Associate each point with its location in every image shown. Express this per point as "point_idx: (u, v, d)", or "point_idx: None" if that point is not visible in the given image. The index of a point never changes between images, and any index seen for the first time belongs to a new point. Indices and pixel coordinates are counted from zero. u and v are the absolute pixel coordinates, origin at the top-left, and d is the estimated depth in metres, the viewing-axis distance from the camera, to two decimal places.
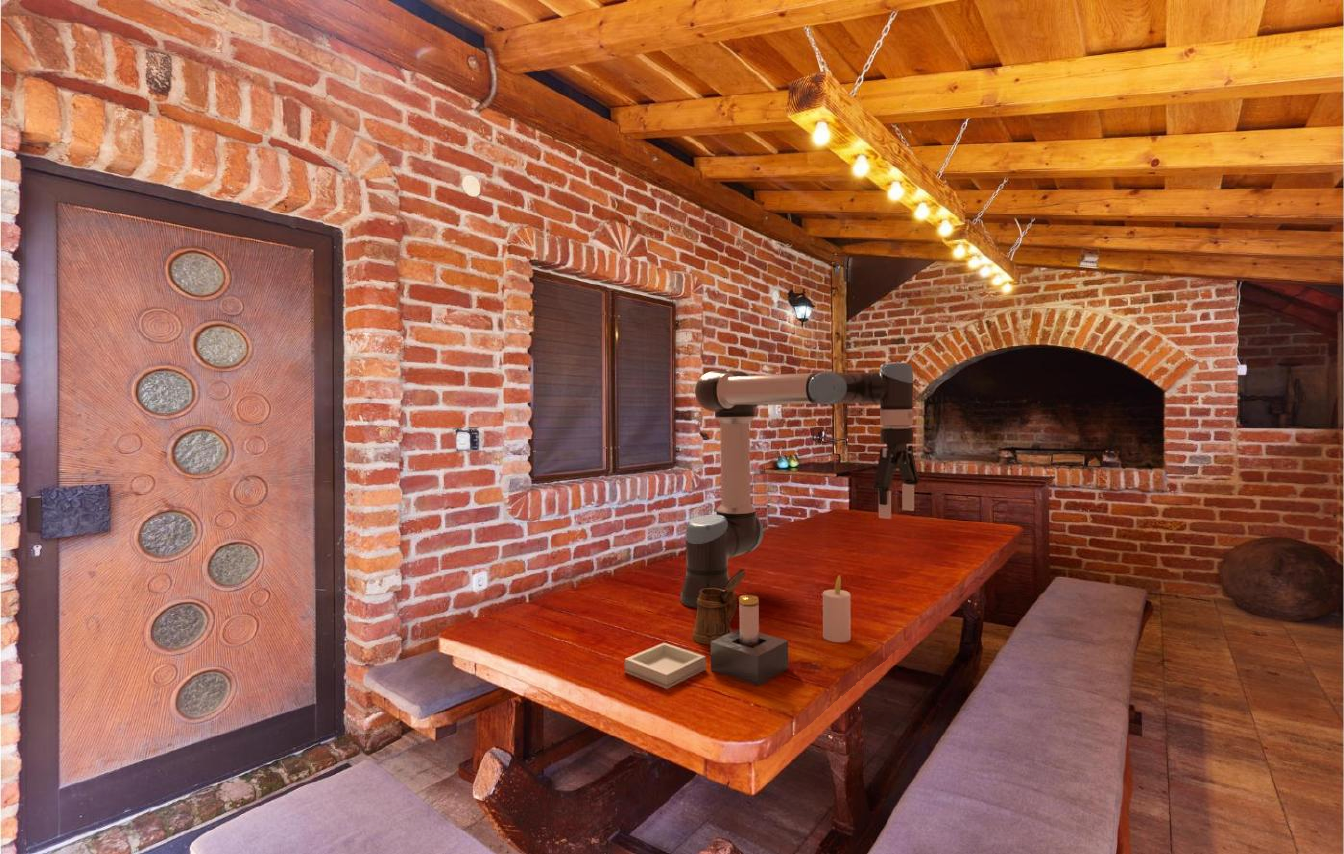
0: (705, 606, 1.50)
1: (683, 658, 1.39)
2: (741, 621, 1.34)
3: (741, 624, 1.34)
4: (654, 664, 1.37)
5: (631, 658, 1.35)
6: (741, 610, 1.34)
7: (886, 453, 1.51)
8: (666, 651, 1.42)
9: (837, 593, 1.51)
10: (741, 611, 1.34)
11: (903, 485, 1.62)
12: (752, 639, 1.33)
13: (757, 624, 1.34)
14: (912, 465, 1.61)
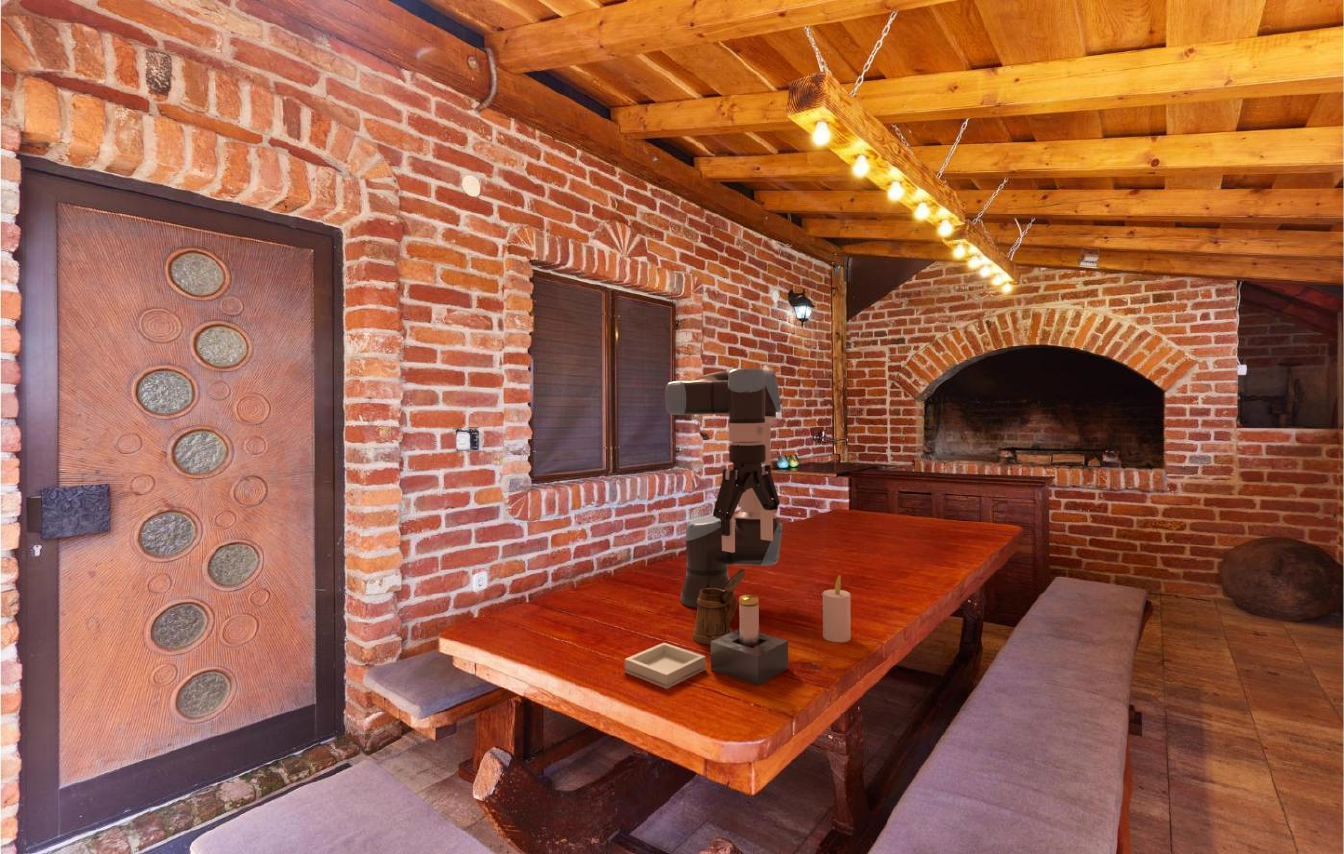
0: (705, 606, 1.50)
1: (683, 658, 1.39)
2: (741, 621, 1.34)
3: (741, 624, 1.34)
4: (654, 664, 1.37)
5: (631, 658, 1.35)
6: (741, 610, 1.34)
7: (729, 475, 1.28)
8: (666, 651, 1.42)
9: (837, 593, 1.51)
10: (741, 611, 1.34)
11: (761, 510, 1.39)
12: (752, 639, 1.33)
13: (757, 624, 1.34)
14: (771, 487, 1.38)
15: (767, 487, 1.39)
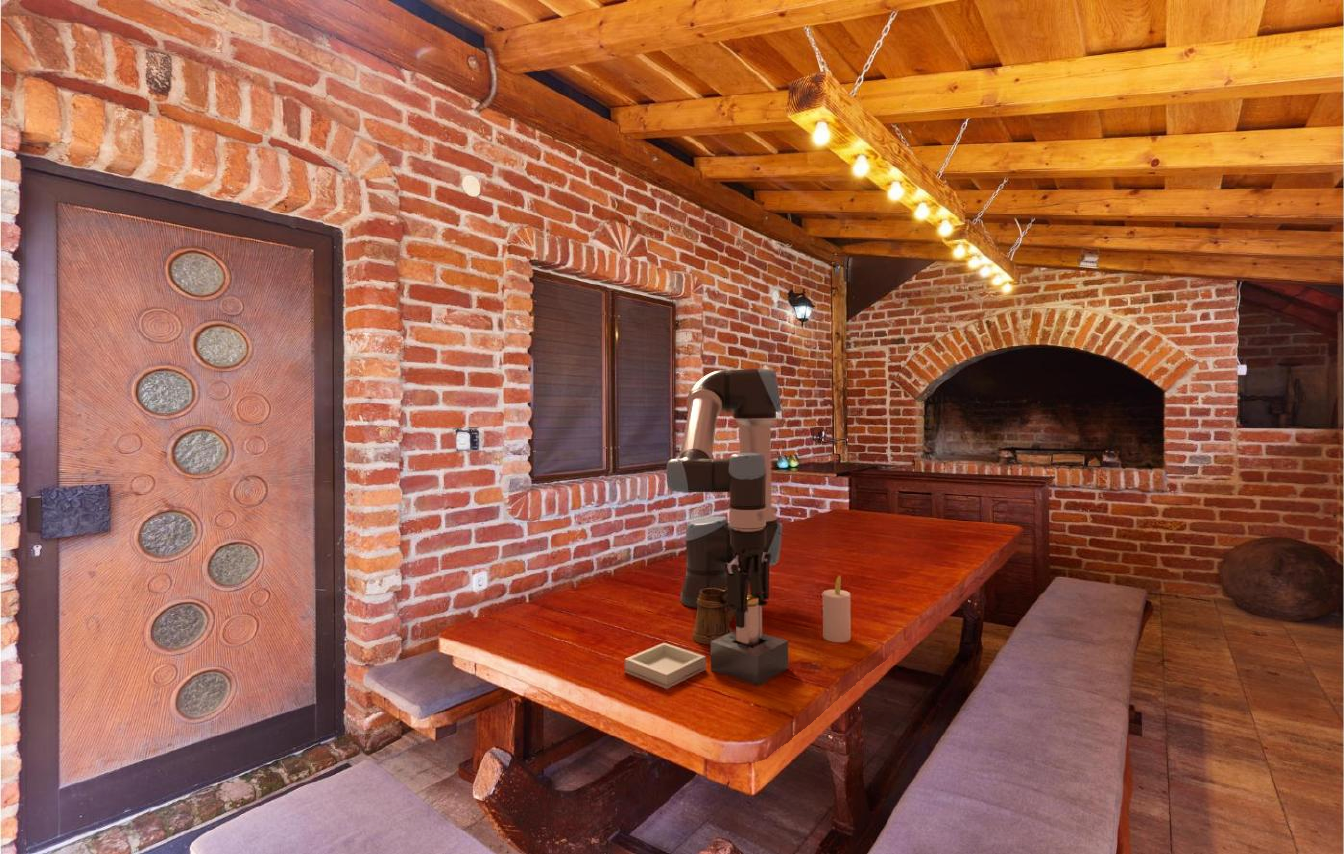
0: (705, 606, 1.50)
1: (683, 658, 1.39)
2: None
3: None
4: (654, 664, 1.37)
5: (631, 658, 1.35)
6: None
7: (732, 571, 1.29)
8: (666, 651, 1.42)
9: (837, 593, 1.51)
10: None
11: None
12: (752, 639, 1.33)
13: (757, 624, 1.34)
14: (765, 577, 1.37)
15: (761, 576, 1.38)
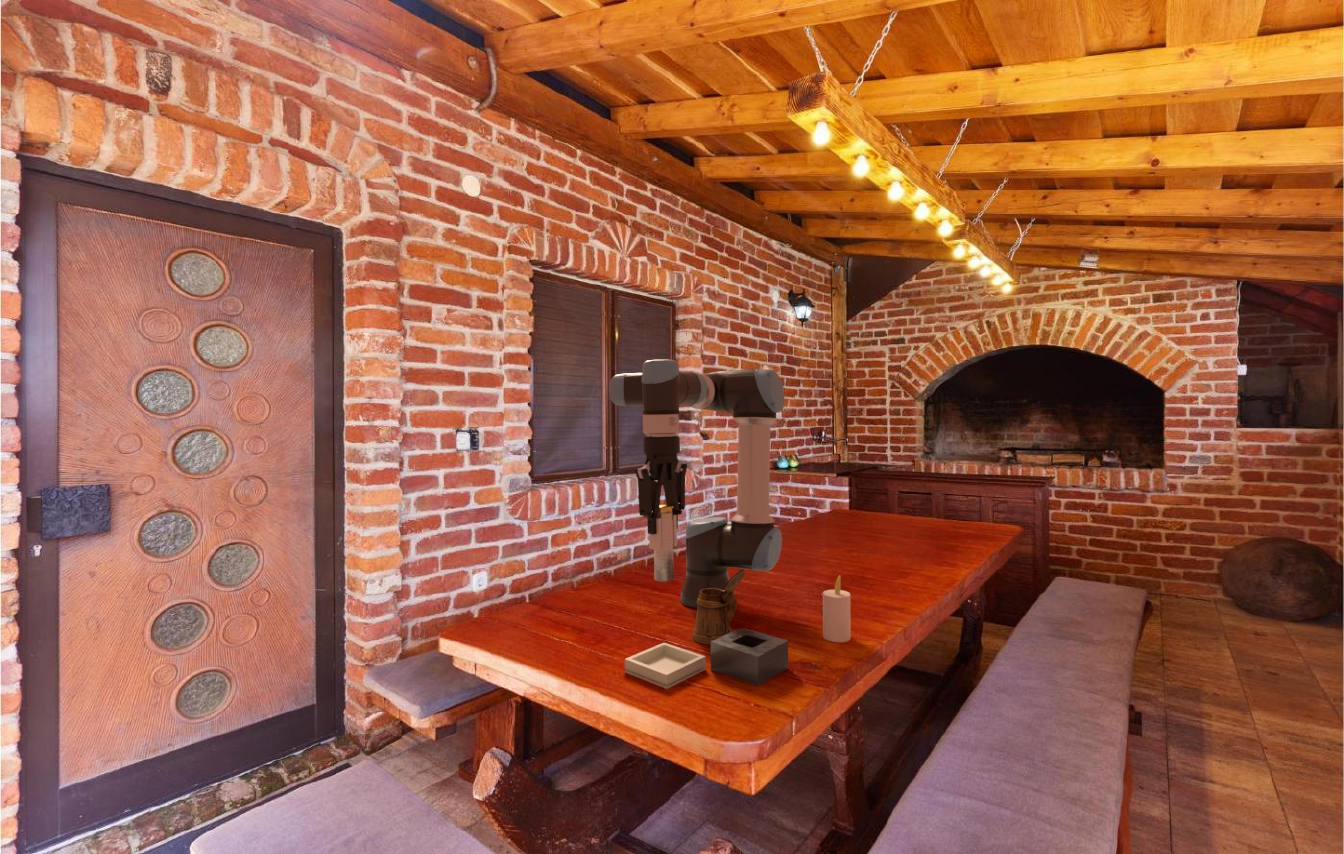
0: (705, 606, 1.50)
1: (683, 658, 1.39)
2: None
3: None
4: (654, 664, 1.37)
5: (631, 658, 1.35)
6: None
7: (642, 475, 1.29)
8: (666, 651, 1.42)
9: (837, 593, 1.51)
10: None
11: None
12: (665, 547, 1.32)
13: (670, 532, 1.33)
14: (680, 487, 1.37)
15: (677, 487, 1.37)
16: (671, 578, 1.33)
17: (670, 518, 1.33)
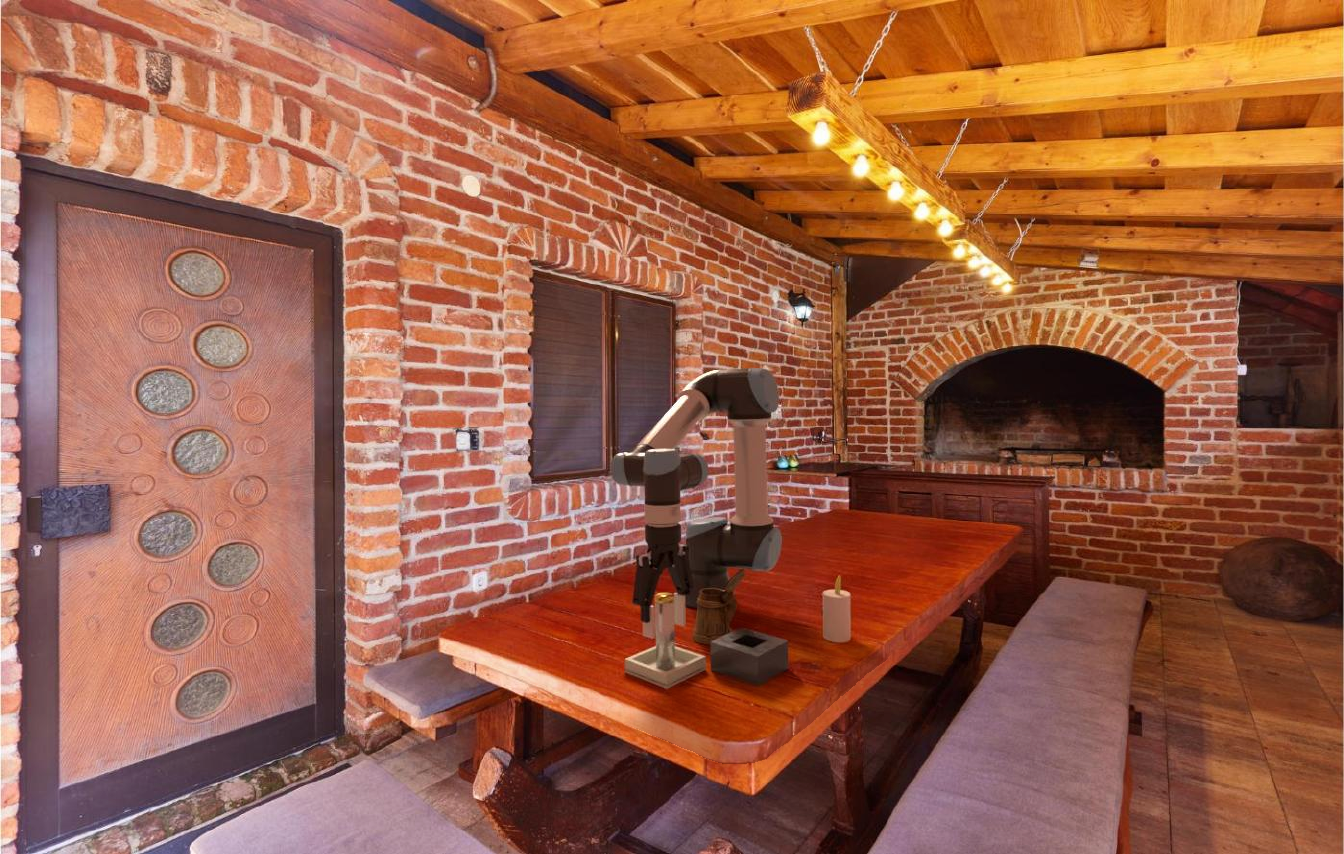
0: (705, 606, 1.50)
1: (683, 658, 1.39)
2: (656, 619, 1.34)
3: (656, 622, 1.34)
4: (654, 664, 1.37)
5: (631, 658, 1.35)
6: (656, 608, 1.34)
7: (642, 562, 1.29)
8: None
9: (837, 593, 1.51)
10: (656, 609, 1.34)
11: (674, 595, 1.39)
12: (666, 637, 1.33)
13: (672, 622, 1.34)
14: (686, 569, 1.38)
15: (683, 568, 1.39)
16: (673, 667, 1.34)
17: (672, 608, 1.34)
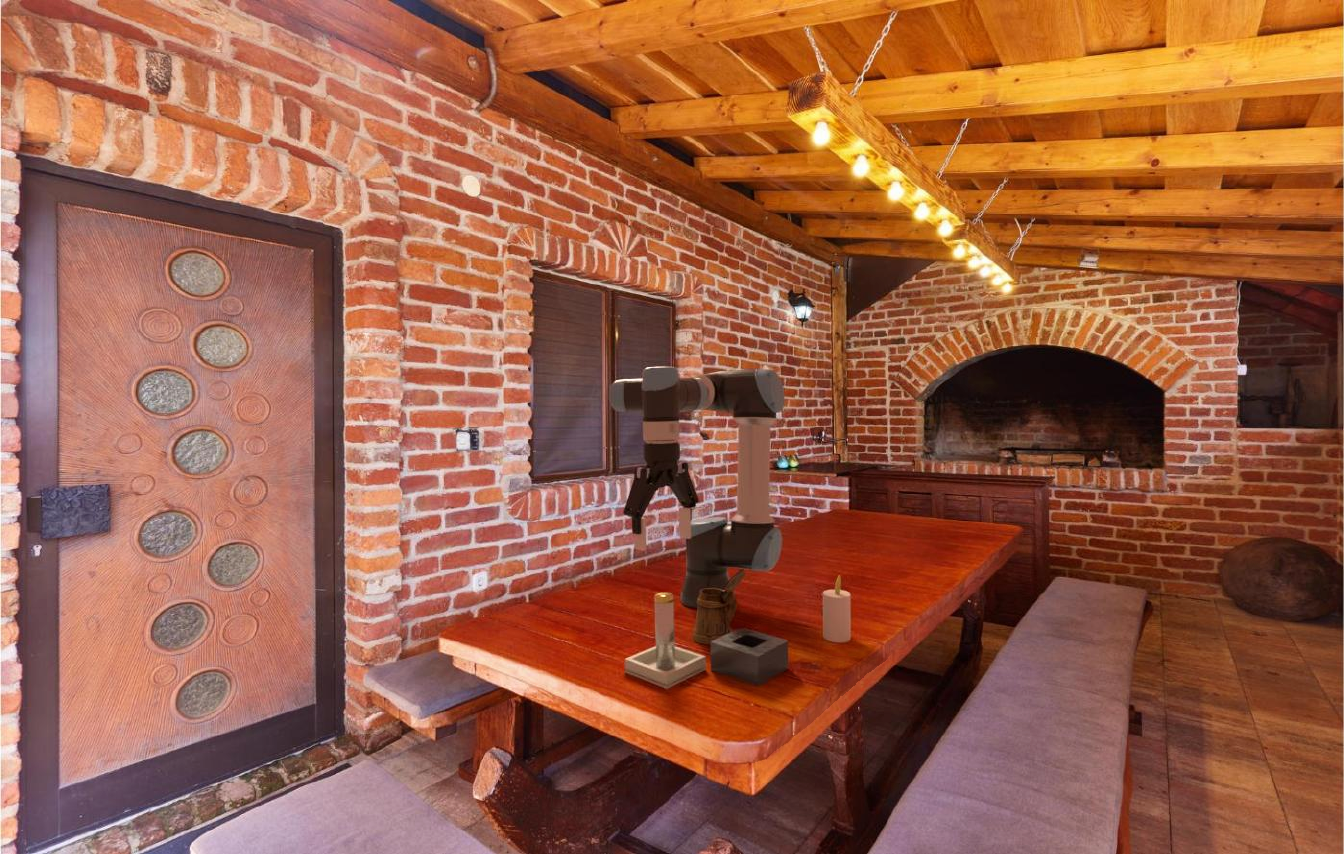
0: (705, 606, 1.50)
1: (683, 658, 1.39)
2: (656, 618, 1.34)
3: (656, 621, 1.34)
4: (654, 664, 1.37)
5: (631, 658, 1.35)
6: (656, 607, 1.34)
7: (640, 473, 1.28)
8: None
9: (837, 593, 1.51)
10: (656, 608, 1.34)
11: (679, 508, 1.40)
12: (666, 636, 1.33)
13: (672, 621, 1.34)
14: (688, 485, 1.38)
15: (685, 485, 1.39)
16: (673, 667, 1.34)
17: (671, 608, 1.34)
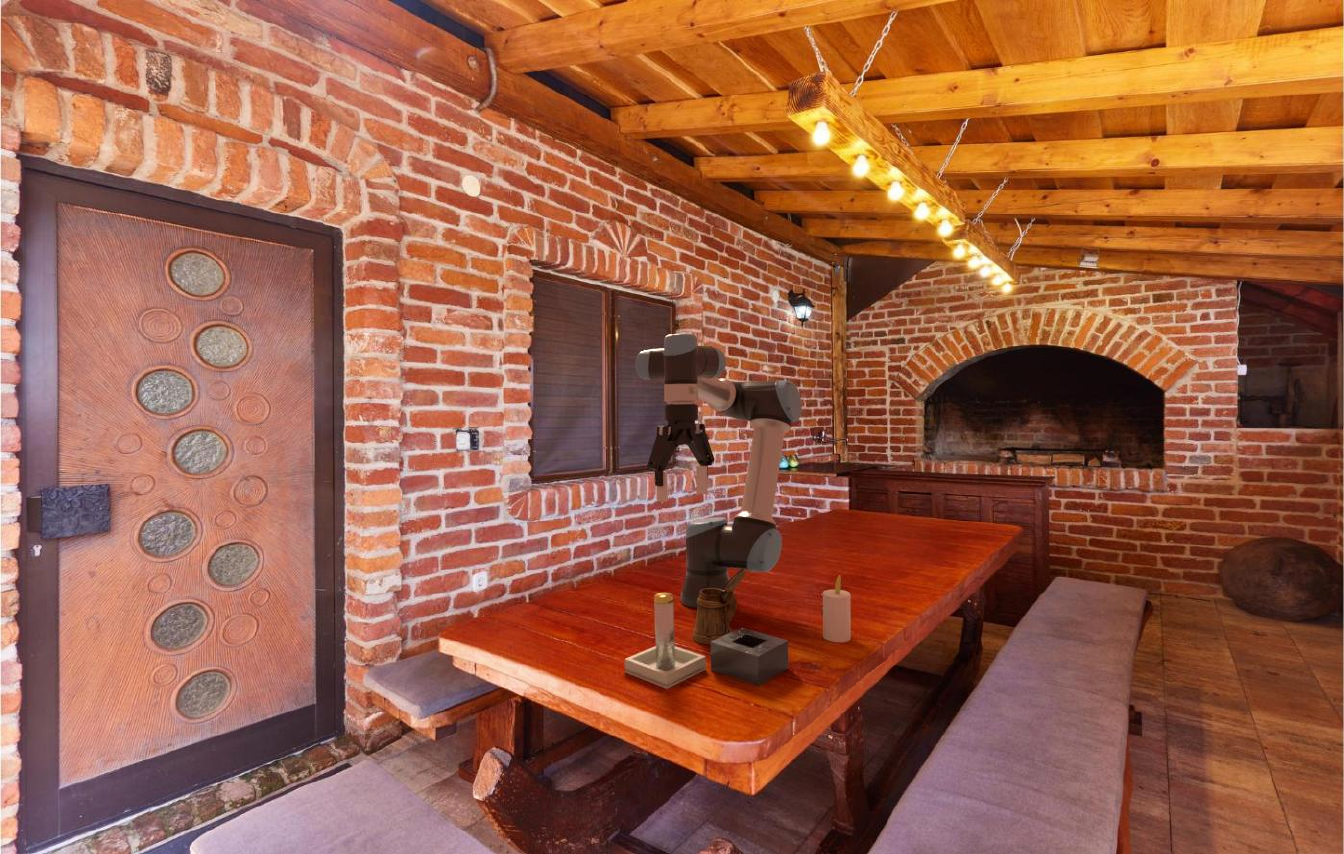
0: (705, 606, 1.50)
1: (683, 658, 1.39)
2: (656, 619, 1.34)
3: (656, 622, 1.34)
4: (654, 664, 1.37)
5: (631, 658, 1.35)
6: (655, 608, 1.34)
7: (662, 431, 1.40)
8: None
9: (837, 593, 1.51)
10: (655, 609, 1.34)
11: (697, 466, 1.51)
12: (666, 637, 1.33)
13: (672, 622, 1.34)
14: (705, 445, 1.50)
15: (702, 445, 1.51)
16: (673, 667, 1.34)
17: (671, 608, 1.34)
